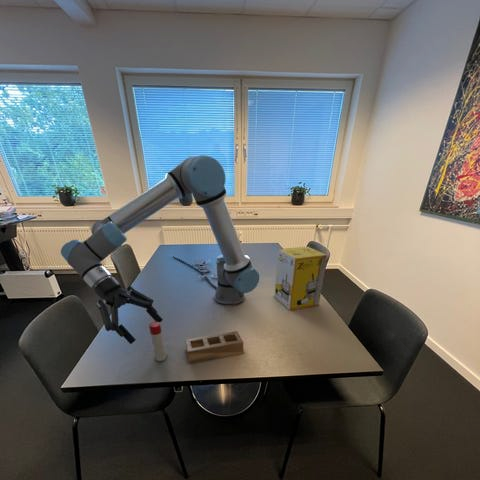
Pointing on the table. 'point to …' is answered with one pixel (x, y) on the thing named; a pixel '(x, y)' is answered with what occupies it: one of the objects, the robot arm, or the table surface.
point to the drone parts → (203, 268)
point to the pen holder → (214, 346)
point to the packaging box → (299, 277)
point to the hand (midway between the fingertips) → (147, 331)
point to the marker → (157, 341)
